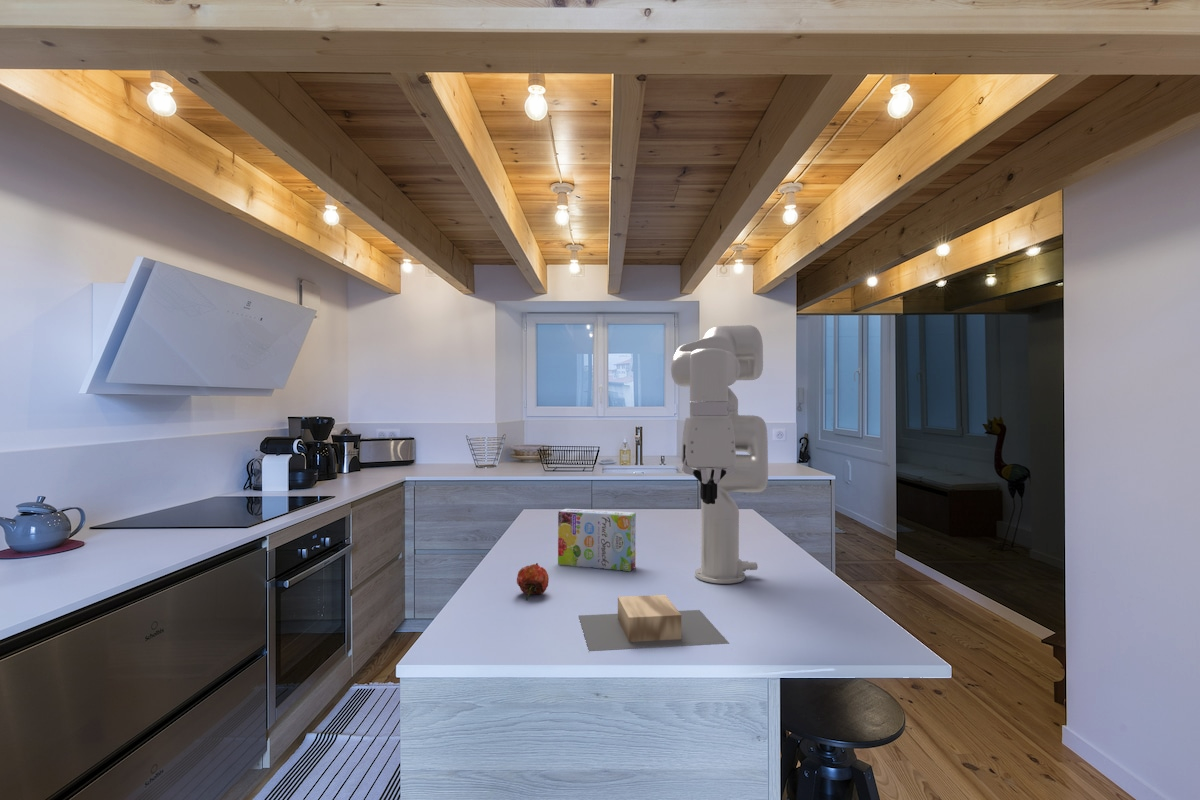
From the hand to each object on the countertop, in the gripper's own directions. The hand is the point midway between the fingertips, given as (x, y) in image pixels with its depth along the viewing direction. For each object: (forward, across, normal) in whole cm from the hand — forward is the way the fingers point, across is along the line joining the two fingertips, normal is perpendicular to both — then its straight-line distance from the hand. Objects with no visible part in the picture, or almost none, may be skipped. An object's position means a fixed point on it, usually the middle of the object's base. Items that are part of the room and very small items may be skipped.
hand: (708, 502), depth 119 cm
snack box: (+25, +16, -48) cm, 56 cm away
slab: (+22, +7, 0) cm, 23 cm away
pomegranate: (+25, +34, -25) cm, 49 cm away
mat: (+25, +12, 0) cm, 28 cm away
